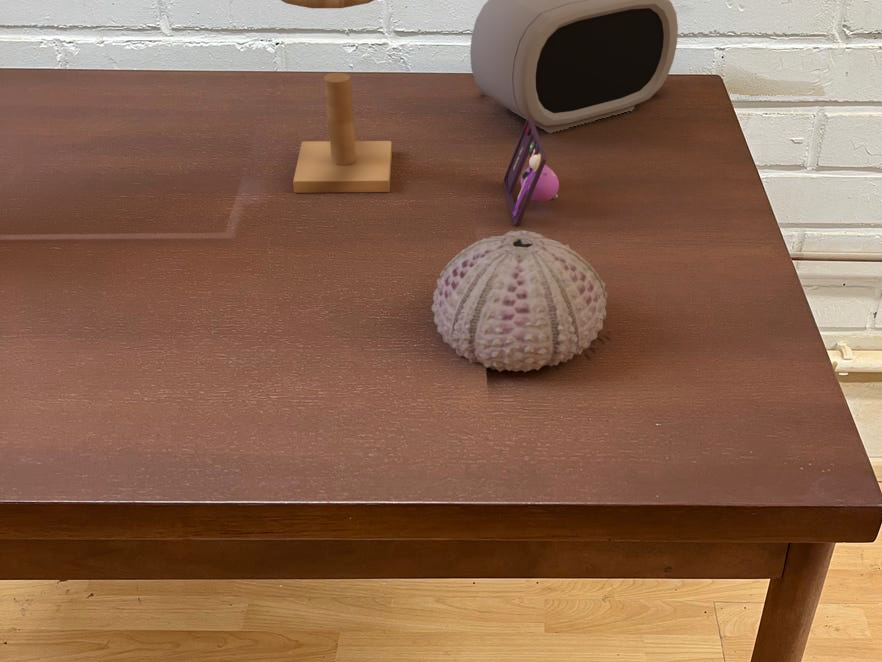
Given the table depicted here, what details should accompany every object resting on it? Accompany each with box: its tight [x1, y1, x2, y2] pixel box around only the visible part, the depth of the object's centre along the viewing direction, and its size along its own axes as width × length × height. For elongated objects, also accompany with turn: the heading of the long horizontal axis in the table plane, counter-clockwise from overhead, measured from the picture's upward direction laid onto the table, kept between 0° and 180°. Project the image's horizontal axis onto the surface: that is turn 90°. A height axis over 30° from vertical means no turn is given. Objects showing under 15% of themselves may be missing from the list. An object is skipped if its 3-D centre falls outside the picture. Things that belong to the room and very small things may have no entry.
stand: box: [292, 72, 393, 194], centre depth 96 cm, size 9×9×9 cm
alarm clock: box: [469, 0, 679, 134], centre depth 106 cm, size 21×10×13 cm, turn 123°
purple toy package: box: [502, 117, 560, 227], centre depth 92 cm, size 7×5×9 cm
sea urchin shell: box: [430, 229, 609, 373], centre depth 75 cm, size 13×14×8 cm
